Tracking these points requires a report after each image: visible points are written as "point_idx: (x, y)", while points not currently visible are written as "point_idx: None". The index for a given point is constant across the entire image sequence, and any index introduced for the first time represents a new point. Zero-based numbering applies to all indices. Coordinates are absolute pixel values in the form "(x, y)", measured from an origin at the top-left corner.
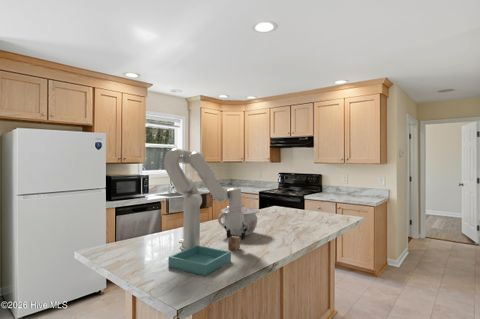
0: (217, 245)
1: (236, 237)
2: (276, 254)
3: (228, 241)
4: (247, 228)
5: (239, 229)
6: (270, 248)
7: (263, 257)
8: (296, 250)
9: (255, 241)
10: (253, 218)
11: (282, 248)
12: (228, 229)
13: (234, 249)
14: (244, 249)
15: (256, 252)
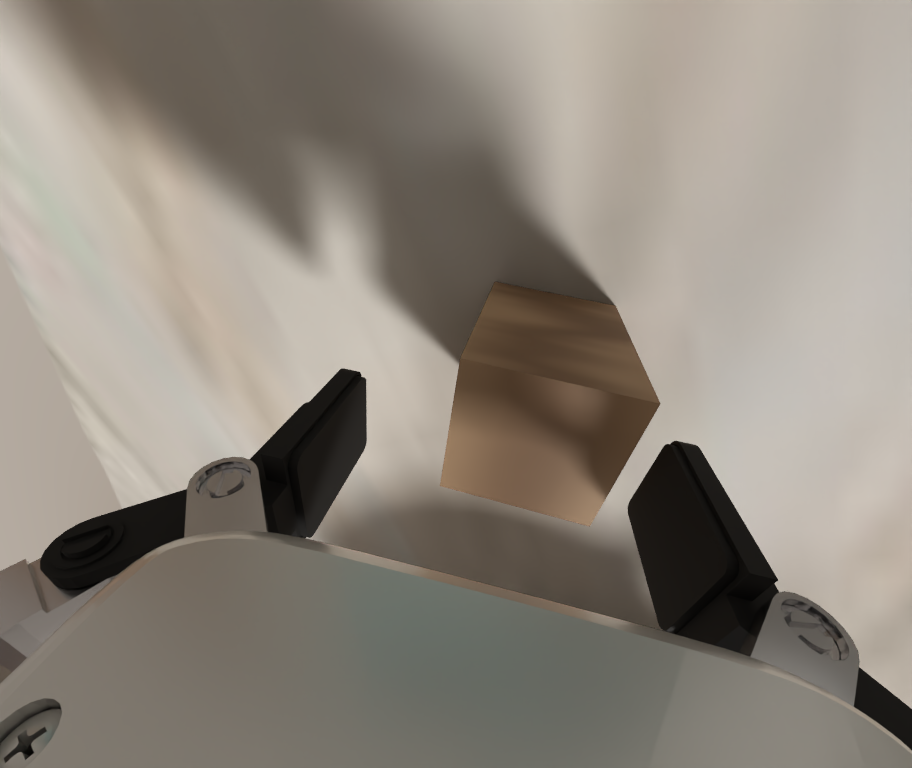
0: (817, 425)
1: (483, 441)
2: (103, 310)
3: (638, 359)
4: (24, 572)
5: (234, 532)
6: (241, 442)
7: (102, 156)
8: (93, 437)
9: (422, 565)
10: None
11: (181, 457)
12: (744, 647)
13: (513, 290)
14: (417, 364)
15: (263, 306)
